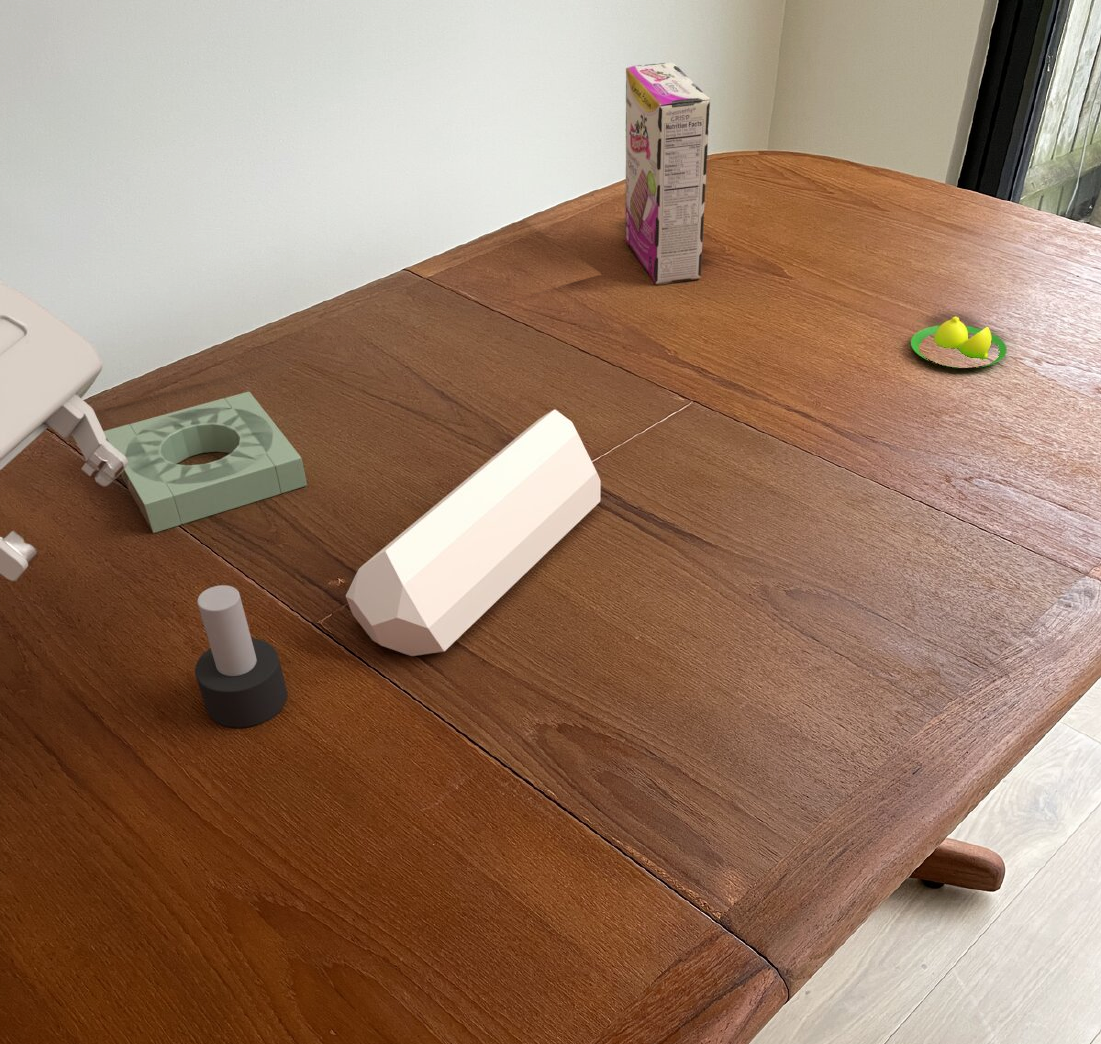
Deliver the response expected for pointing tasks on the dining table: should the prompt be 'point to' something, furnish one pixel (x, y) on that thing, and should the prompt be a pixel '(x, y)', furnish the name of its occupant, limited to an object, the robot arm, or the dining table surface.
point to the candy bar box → (665, 171)
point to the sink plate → (213, 487)
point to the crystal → (476, 541)
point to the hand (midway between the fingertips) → (75, 519)
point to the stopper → (236, 664)
